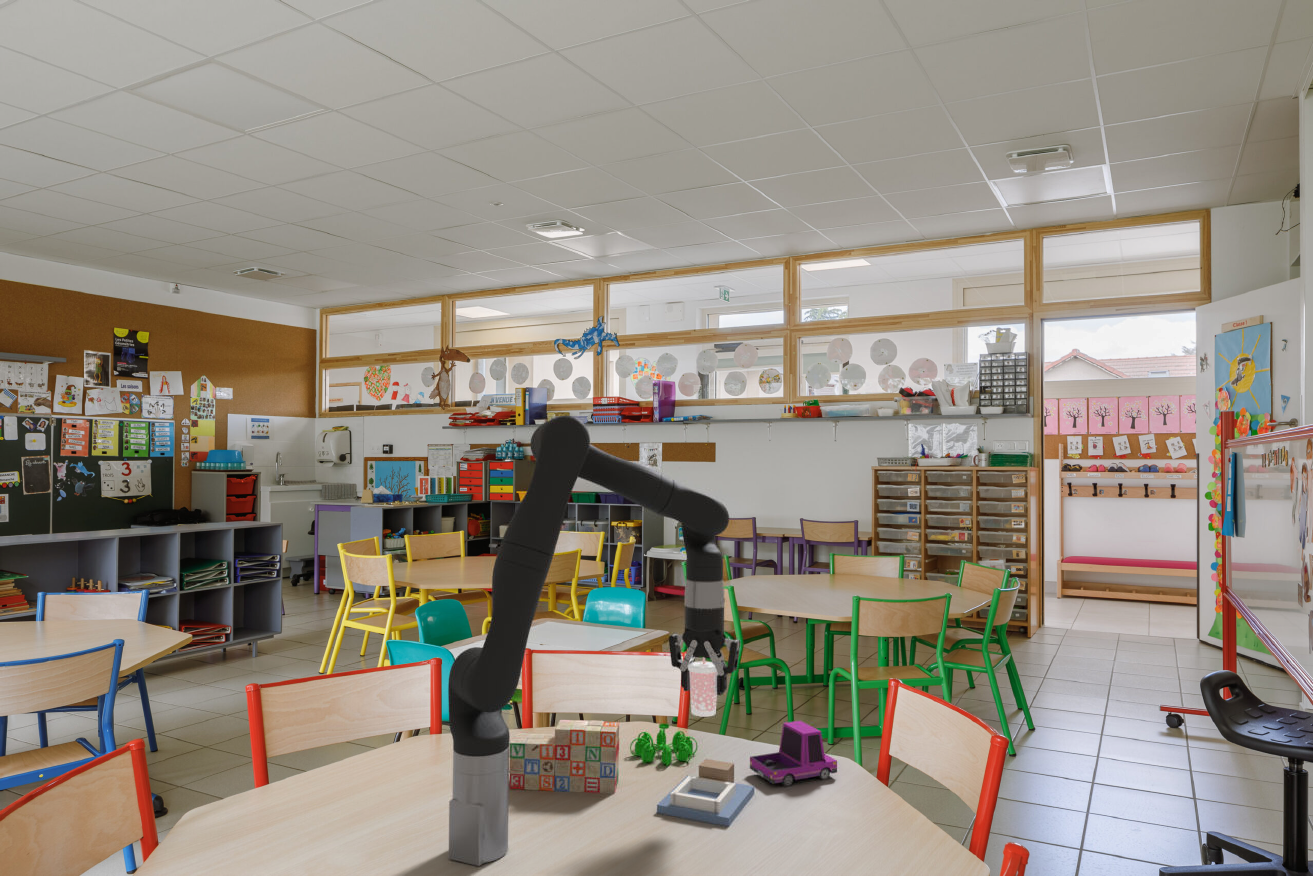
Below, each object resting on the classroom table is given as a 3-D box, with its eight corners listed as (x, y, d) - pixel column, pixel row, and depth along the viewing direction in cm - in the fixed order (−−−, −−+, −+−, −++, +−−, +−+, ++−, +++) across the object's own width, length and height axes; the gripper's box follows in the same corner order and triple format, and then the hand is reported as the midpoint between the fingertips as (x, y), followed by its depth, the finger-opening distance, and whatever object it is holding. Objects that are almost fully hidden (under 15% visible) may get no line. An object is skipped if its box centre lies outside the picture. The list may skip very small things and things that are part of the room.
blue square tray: (728, 826, 150) (729, 795, 150) (656, 813, 155) (657, 783, 155) (754, 794, 164) (754, 765, 165) (687, 782, 170) (687, 755, 170)
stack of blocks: (508, 790, 166) (509, 727, 166) (515, 778, 172) (516, 717, 172) (615, 794, 164) (616, 730, 165) (619, 781, 170) (619, 721, 171)
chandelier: (616, 758, 185) (616, 726, 185) (658, 740, 196) (659, 710, 196) (669, 774, 175) (669, 741, 175) (711, 755, 187) (711, 724, 187)
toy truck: (839, 780, 172) (840, 731, 172) (774, 792, 166) (775, 741, 166) (809, 763, 182) (810, 716, 182) (747, 773, 176) (747, 725, 176)
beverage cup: (706, 720, 154) (707, 643, 154) (680, 713, 158) (681, 638, 158) (726, 712, 159) (726, 638, 159) (700, 706, 163) (701, 633, 163)
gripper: (661, 603, 158) (661, 693, 158) (734, 609, 153) (734, 702, 152) (676, 597, 165) (675, 683, 165) (746, 603, 160) (746, 691, 159)
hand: (703, 692), depth 159 cm, fingers closed on beverage cup, 6 cm apart
